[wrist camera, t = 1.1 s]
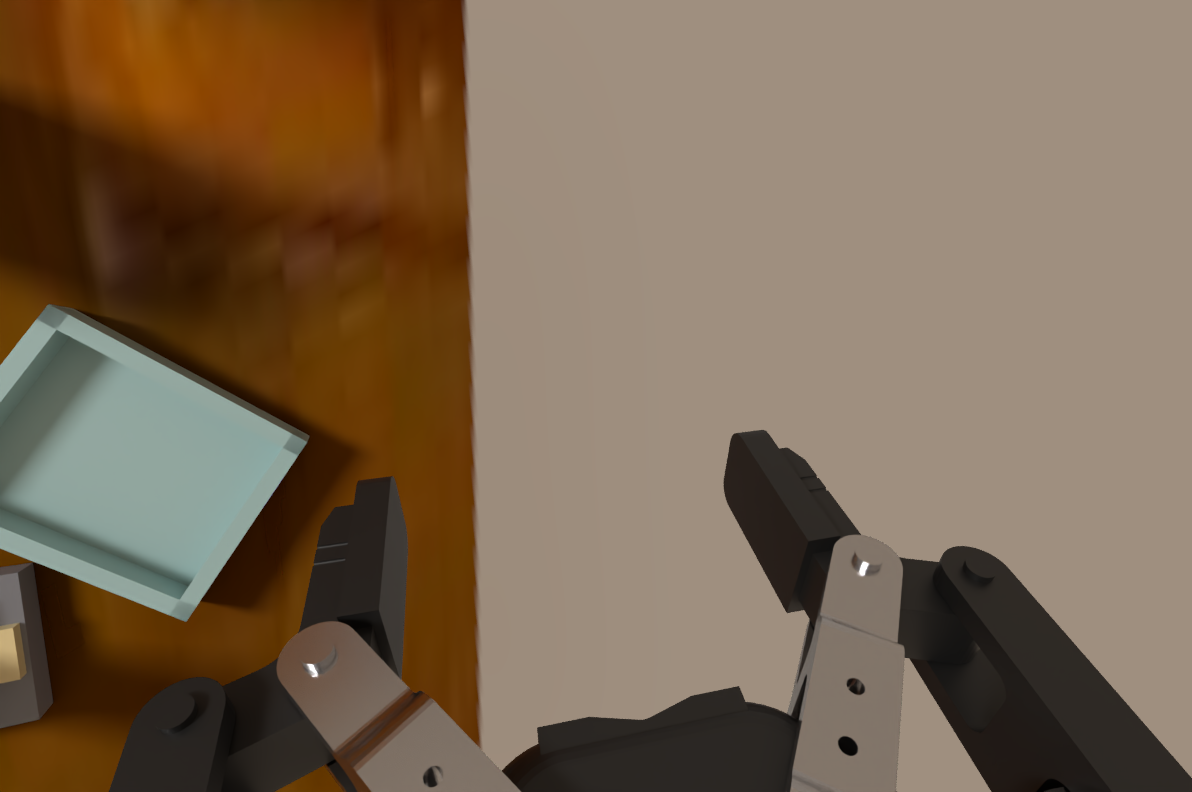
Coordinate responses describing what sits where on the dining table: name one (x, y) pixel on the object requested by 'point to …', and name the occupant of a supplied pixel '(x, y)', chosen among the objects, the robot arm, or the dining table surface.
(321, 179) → the dining table surface
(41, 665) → the fuse holder
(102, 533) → the parts tray
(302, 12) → the dining table surface
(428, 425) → the dining table surface
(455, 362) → the dining table surface
